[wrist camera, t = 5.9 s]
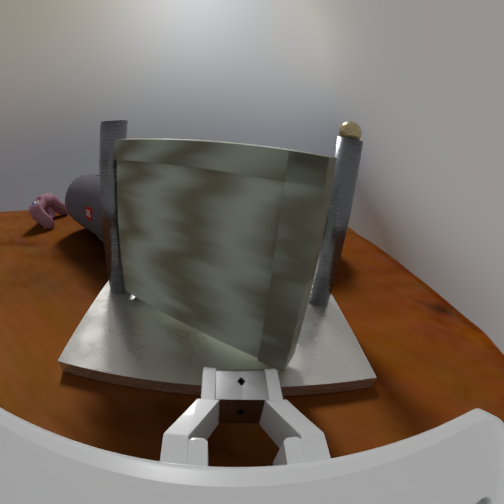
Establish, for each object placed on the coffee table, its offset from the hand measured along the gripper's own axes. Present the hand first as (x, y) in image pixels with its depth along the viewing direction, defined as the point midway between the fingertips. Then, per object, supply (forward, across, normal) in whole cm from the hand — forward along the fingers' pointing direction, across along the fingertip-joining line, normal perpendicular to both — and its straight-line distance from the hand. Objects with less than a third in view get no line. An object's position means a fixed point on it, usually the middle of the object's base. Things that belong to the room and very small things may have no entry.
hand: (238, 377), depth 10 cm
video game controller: (+37, -36, -7) cm, 53 cm away
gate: (+10, -3, -5) cm, 11 cm away
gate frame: (+12, -1, -7) cm, 14 cm away
